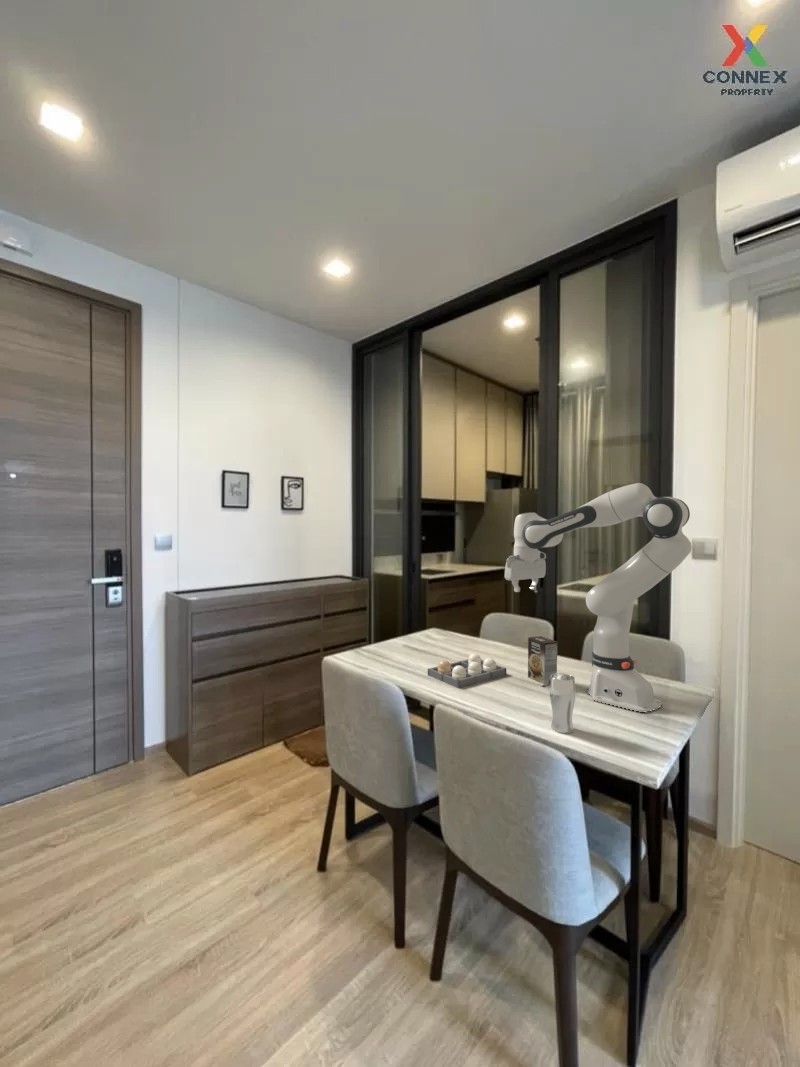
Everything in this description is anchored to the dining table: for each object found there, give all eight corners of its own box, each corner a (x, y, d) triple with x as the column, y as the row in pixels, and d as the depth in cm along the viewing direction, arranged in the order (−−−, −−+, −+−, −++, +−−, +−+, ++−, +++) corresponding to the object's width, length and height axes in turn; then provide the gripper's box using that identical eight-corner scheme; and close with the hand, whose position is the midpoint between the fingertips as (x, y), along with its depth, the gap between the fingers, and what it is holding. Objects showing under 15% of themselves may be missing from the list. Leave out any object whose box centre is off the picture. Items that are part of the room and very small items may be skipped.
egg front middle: (484, 678, 172) (484, 662, 172) (474, 680, 169) (474, 664, 169) (474, 674, 176) (474, 659, 176) (465, 677, 173) (465, 661, 173)
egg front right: (498, 674, 177) (498, 658, 177) (489, 676, 174) (490, 661, 174) (489, 670, 181) (489, 655, 181) (480, 673, 178) (480, 657, 178)
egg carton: (506, 677, 177) (506, 668, 176) (458, 690, 162) (458, 681, 162) (474, 666, 190) (474, 657, 190) (427, 677, 176) (427, 668, 176)
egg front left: (468, 682, 168) (468, 666, 168) (458, 685, 165) (458, 668, 165) (459, 678, 172) (459, 662, 172) (449, 681, 169) (449, 665, 169)
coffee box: (527, 679, 174) (527, 637, 174) (540, 677, 177) (540, 635, 176) (544, 687, 166) (544, 642, 165) (557, 684, 168) (558, 640, 168)
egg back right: (483, 668, 183) (483, 654, 183) (474, 671, 181) (474, 656, 180) (474, 665, 188) (474, 651, 187) (465, 668, 185) (465, 653, 184)
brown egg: (453, 676, 174) (453, 660, 174) (443, 679, 171) (443, 663, 171) (444, 673, 178) (445, 657, 178) (435, 675, 175) (435, 659, 175)
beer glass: (569, 723, 136) (569, 672, 135) (579, 734, 129) (579, 680, 128) (545, 723, 135) (546, 673, 135) (554, 734, 128) (555, 681, 128)
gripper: (513, 556, 168) (513, 594, 168) (548, 554, 180) (548, 589, 180) (500, 555, 173) (500, 592, 173) (535, 553, 185) (535, 587, 185)
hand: (525, 590), depth 177 cm, fingers open, 8 cm apart
